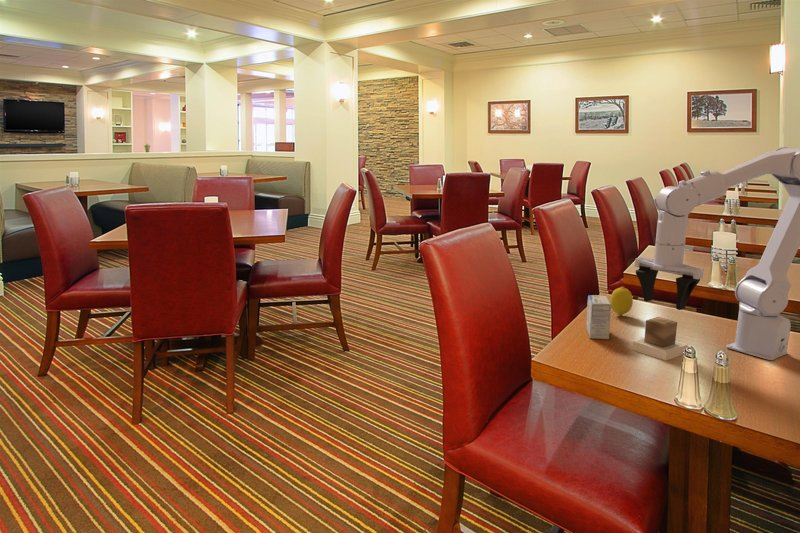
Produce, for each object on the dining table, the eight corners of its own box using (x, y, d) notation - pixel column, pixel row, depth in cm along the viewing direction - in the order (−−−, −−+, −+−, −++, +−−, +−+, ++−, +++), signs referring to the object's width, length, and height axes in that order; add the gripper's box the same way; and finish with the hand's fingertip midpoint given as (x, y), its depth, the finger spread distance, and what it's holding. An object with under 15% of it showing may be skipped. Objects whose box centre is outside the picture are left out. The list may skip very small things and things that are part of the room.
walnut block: (675, 343, 124) (677, 321, 123) (663, 347, 122) (665, 325, 121) (656, 338, 128) (658, 316, 127) (644, 342, 126) (646, 319, 125)
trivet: (686, 355, 125) (687, 344, 124) (665, 362, 120) (666, 351, 120) (653, 344, 131) (654, 334, 131) (631, 351, 127) (632, 340, 126)
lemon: (615, 311, 155) (618, 282, 153) (635, 316, 151) (638, 286, 149) (604, 315, 151) (607, 286, 149) (624, 320, 147) (627, 290, 145)
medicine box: (609, 340, 133) (612, 304, 131) (589, 338, 134) (591, 303, 132) (604, 329, 140) (606, 295, 138) (585, 328, 141) (587, 294, 139)
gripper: (628, 240, 125) (623, 299, 128) (692, 250, 113) (685, 316, 116) (647, 237, 129) (642, 295, 132) (711, 247, 117) (704, 310, 120)
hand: (663, 304), depth 124 cm, fingers open, 7 cm apart
